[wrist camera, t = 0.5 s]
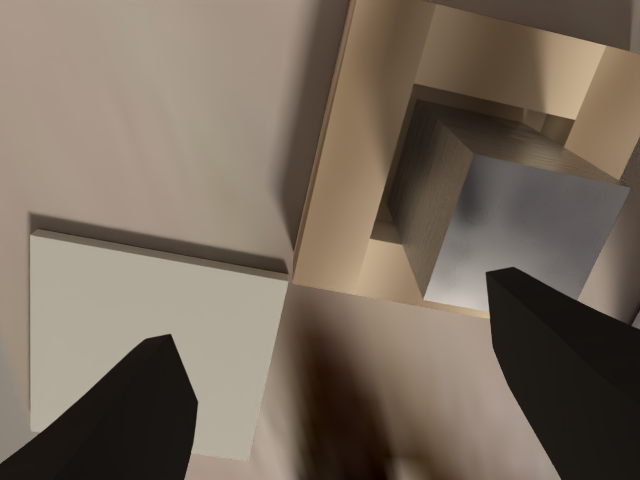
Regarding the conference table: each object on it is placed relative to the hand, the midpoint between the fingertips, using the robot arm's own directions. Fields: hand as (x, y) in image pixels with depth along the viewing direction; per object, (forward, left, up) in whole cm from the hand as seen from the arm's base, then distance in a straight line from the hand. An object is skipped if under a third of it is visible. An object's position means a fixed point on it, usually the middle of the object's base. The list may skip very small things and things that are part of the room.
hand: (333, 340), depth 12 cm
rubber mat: (+6, +9, -10) cm, 14 cm away
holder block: (-4, -2, -10) cm, 11 cm away
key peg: (-4, -2, -9) cm, 10 cm away
